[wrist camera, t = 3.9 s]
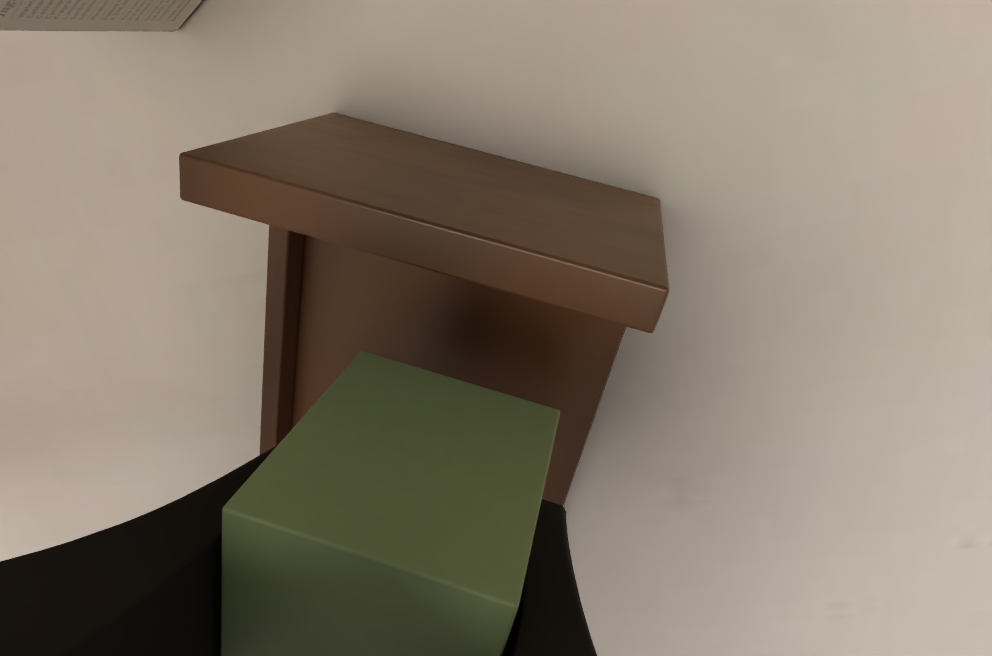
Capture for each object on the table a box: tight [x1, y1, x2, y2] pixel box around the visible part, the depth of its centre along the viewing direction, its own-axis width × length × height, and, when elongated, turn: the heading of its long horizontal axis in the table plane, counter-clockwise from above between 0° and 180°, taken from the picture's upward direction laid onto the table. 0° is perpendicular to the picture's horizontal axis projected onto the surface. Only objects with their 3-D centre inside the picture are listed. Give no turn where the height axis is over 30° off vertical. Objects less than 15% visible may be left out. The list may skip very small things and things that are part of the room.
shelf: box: [179, 113, 669, 506], centre depth 19 cm, size 10×18×7 cm, turn 168°
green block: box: [221, 351, 560, 656], centre depth 12 cm, size 5×4×5 cm
